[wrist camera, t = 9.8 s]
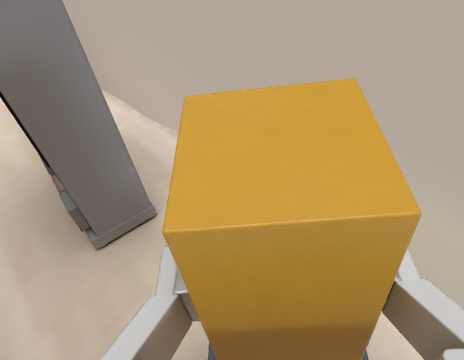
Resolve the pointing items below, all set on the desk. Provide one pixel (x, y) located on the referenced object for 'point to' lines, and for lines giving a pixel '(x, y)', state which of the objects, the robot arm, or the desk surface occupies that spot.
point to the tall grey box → (68, 119)
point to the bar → (287, 220)
